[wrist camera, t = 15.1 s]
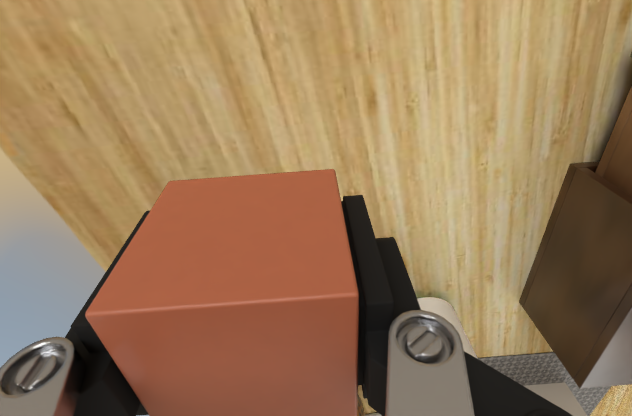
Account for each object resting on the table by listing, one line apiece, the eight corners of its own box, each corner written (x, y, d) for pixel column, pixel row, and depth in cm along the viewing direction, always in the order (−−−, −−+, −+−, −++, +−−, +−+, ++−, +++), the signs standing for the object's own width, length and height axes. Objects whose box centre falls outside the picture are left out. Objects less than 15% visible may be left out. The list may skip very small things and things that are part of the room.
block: (168, 180, 9) (81, 314, 6) (334, 167, 9) (359, 294, 6) (207, 295, 12) (165, 442, 8) (338, 285, 12) (358, 428, 8)
